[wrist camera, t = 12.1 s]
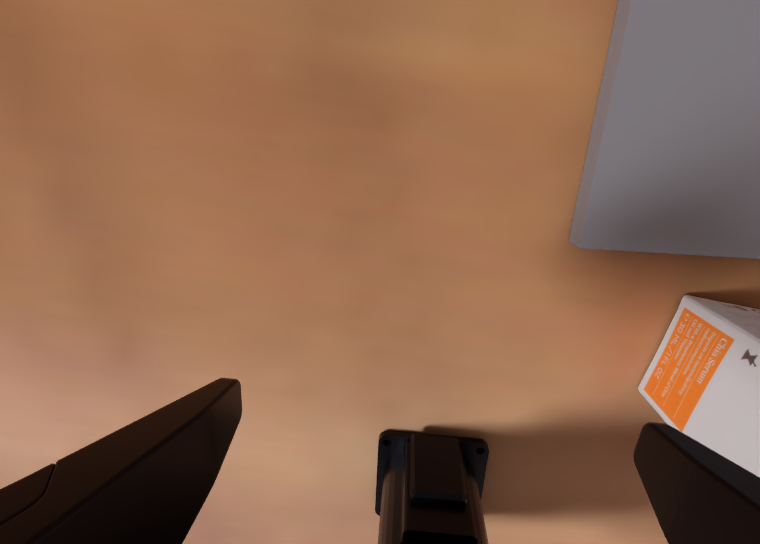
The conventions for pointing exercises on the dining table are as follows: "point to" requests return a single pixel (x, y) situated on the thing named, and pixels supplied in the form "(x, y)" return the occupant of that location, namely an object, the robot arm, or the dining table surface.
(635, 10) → the slate tile
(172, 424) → the robot arm
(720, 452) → the skincare box
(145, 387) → the dining table surface
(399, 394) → the dining table surface
